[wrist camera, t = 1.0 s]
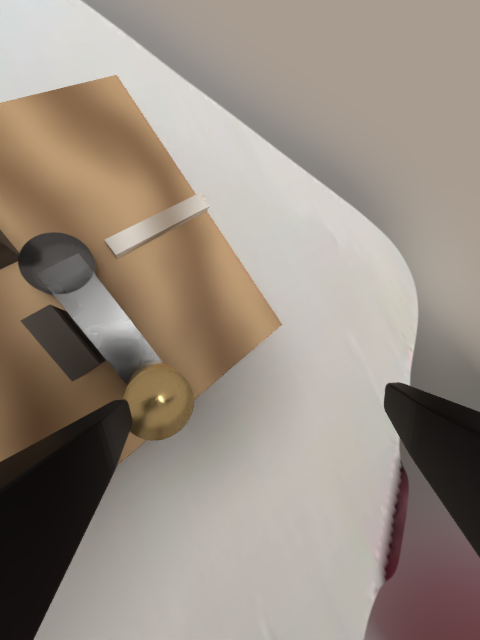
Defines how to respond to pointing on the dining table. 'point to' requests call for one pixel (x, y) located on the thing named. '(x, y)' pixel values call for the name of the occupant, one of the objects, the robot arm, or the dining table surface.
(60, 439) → the robot arm
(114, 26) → the dining table surface
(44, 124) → the lock plate
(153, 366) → the two-tone long knobbed bar
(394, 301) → the dining table surface
